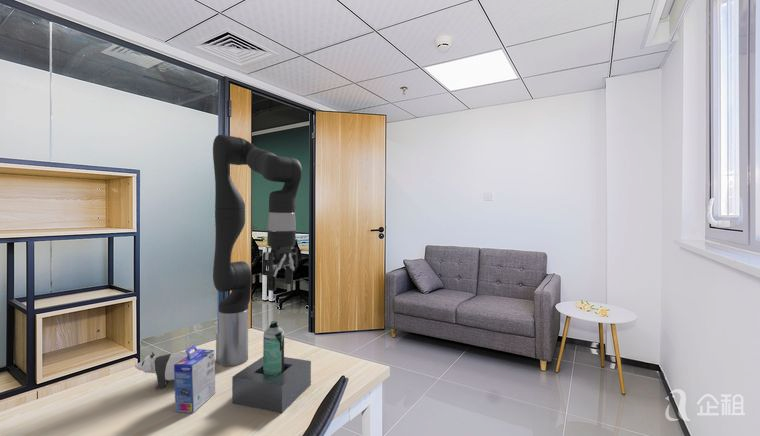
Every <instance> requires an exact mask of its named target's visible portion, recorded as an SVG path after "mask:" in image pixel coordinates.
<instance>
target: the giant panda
mask: <svg viewBox="0 0 760 436" xmlns="http://www.w3.org/2000/svg"><path fill="white" fill-rule="evenodd" d="M189 354H191V353H190V352H189ZM185 357H187V353H186V351H176V352H173V353H169V354H163V355H160V356H155V353H154V352H151V354H149V355H146V356H145V357H144V359H143V360H142V361H140V362H138V363H136V364H135V365H134V366H135V368H136V369H137V370H139V371H142V372H144V373H145V374H155V375H156V380H157V386H155V388H154V390H161V389H165V388H166V384H167V383H168V382H169V381H170V380H175V378H174V365H175V364H176V363H178V362H179V361H181V360H182V359H184V358H185Z"/></svg>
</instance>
